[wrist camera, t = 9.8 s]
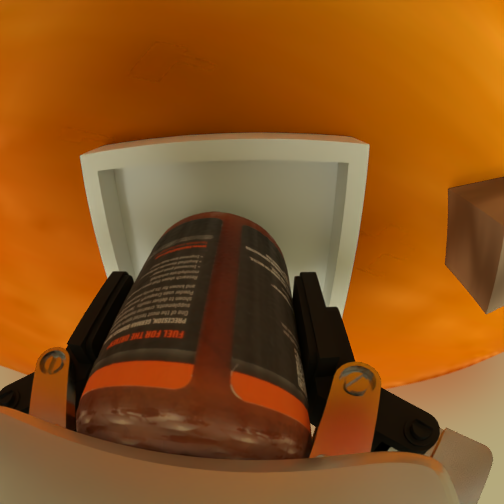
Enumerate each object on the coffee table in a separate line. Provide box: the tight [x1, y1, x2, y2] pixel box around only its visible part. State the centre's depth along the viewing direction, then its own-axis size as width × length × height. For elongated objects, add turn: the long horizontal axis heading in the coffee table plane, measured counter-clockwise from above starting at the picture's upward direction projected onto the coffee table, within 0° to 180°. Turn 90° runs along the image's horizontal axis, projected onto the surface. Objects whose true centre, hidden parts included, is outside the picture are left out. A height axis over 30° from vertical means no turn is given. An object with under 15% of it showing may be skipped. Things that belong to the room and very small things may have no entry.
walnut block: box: [445, 177, 504, 314], centre depth 11 cm, size 5×5×5 cm
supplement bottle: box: [76, 211, 312, 460], centre depth 8 cm, size 6×6×11 cm
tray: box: [80, 132, 370, 318], centre depth 14 cm, size 12×12×2 cm
